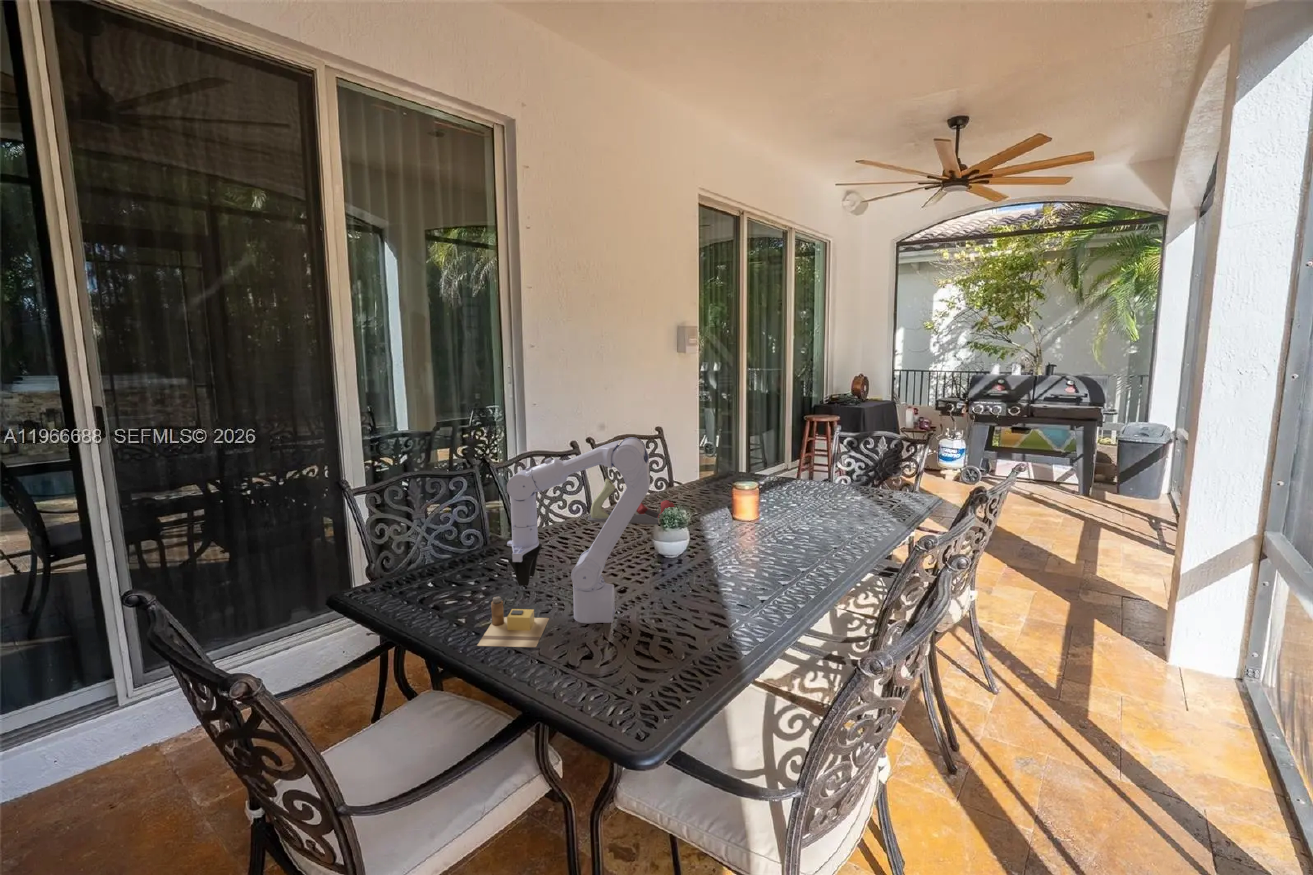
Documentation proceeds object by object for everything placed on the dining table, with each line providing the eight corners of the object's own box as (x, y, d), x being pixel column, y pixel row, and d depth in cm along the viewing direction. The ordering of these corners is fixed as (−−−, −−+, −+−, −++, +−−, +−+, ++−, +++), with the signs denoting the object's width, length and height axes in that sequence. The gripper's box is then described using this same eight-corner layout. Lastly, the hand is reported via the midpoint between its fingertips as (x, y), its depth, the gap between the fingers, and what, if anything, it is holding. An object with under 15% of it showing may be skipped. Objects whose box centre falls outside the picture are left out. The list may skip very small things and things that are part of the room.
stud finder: (534, 621, 139) (533, 608, 138) (530, 630, 135) (529, 616, 134) (512, 621, 139) (511, 607, 138) (507, 629, 135) (506, 615, 134)
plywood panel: (549, 622, 141) (549, 618, 140) (536, 652, 128) (536, 647, 128) (495, 621, 141) (495, 616, 141) (477, 651, 128) (476, 645, 128)
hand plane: (590, 515, 222) (589, 475, 219) (675, 519, 218) (676, 478, 215) (585, 521, 215) (584, 480, 212) (673, 525, 211) (673, 483, 208)
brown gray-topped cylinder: (505, 620, 139) (504, 595, 138) (502, 626, 137) (500, 600, 135) (494, 620, 139) (492, 595, 138) (490, 625, 137) (489, 600, 136)
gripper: (515, 513, 146) (517, 567, 148) (497, 533, 132) (500, 593, 134) (544, 514, 146) (546, 568, 148) (529, 534, 131) (532, 593, 134)
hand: (526, 580), depth 141 cm, fingers open, 5 cm apart
